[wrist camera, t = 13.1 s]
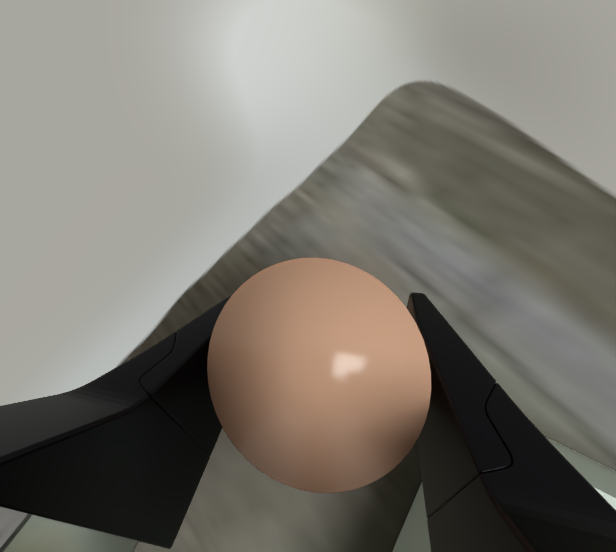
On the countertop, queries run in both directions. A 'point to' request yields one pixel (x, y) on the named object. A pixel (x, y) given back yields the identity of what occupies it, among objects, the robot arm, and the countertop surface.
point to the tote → (609, 483)
